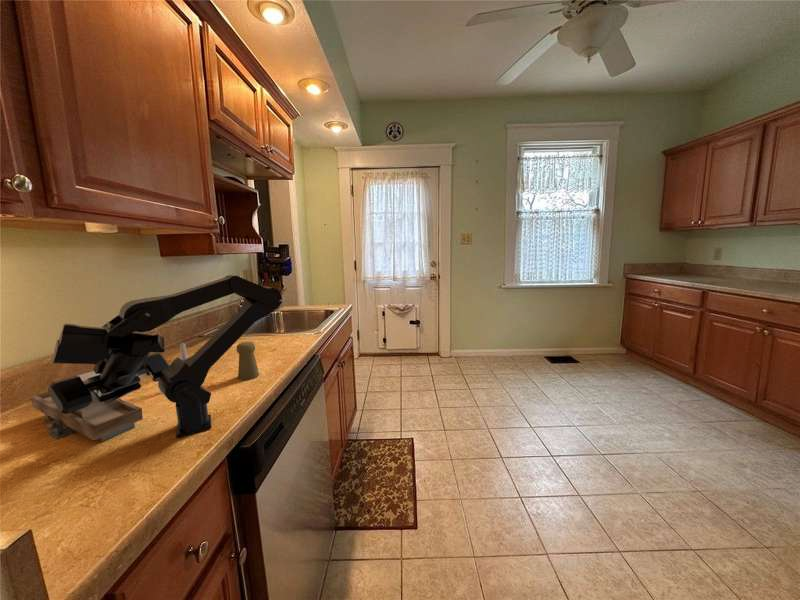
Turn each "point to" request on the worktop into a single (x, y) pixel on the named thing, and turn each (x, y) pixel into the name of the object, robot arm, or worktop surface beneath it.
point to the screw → (183, 351)
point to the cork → (247, 361)
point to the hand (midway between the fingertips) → (106, 401)
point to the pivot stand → (64, 431)
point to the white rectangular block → (93, 403)
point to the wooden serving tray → (94, 425)
